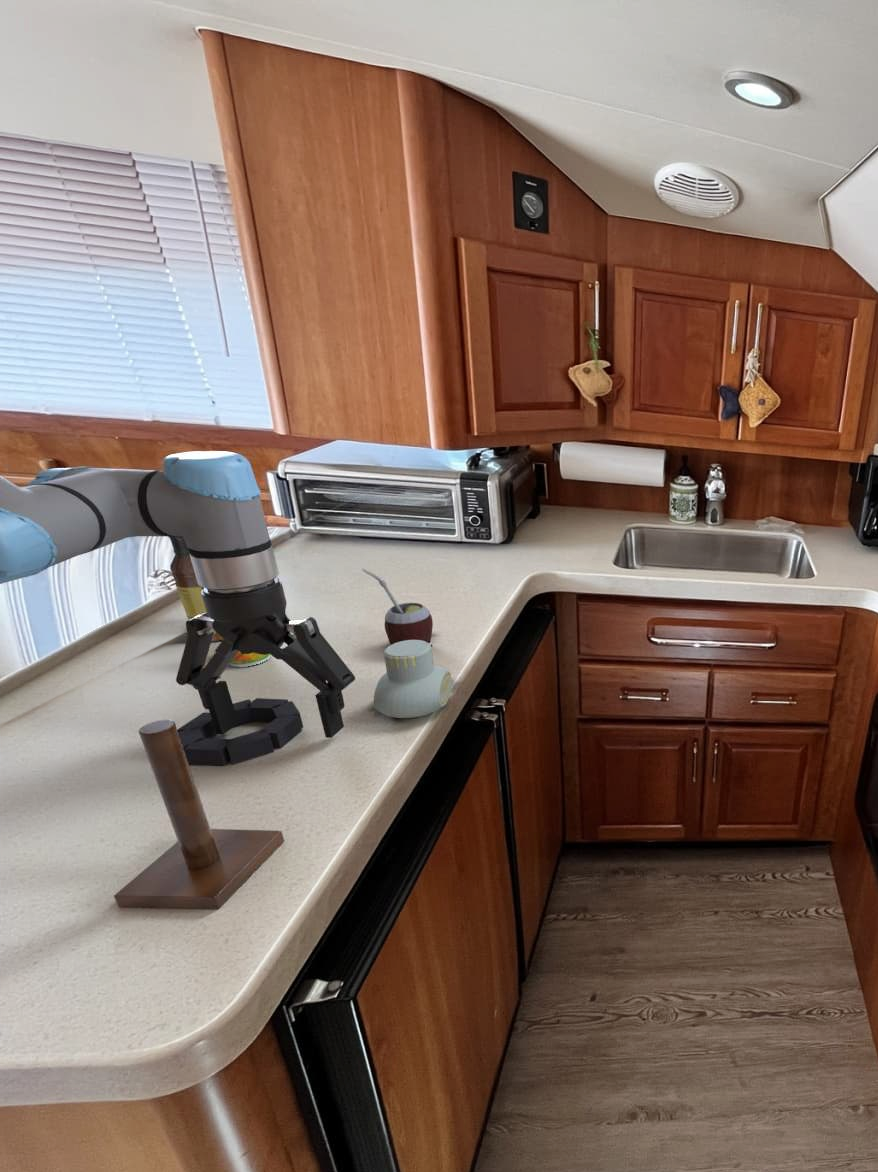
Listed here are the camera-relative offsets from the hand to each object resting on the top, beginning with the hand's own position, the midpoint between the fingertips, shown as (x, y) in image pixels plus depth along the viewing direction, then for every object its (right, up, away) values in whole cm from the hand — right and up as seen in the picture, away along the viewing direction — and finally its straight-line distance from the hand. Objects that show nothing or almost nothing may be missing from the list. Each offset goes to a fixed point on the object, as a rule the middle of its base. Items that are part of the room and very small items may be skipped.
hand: (281, 730), depth 85 cm
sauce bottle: (-32, +11, +25) cm, 42 cm away
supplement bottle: (-20, +7, +18) cm, 28 cm away
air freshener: (+12, +1, +10) cm, 16 cm away
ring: (-5, -1, 0) cm, 5 cm away
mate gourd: (+1, +9, +26) cm, 27 cm away
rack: (+9, -10, -20) cm, 24 cm away
